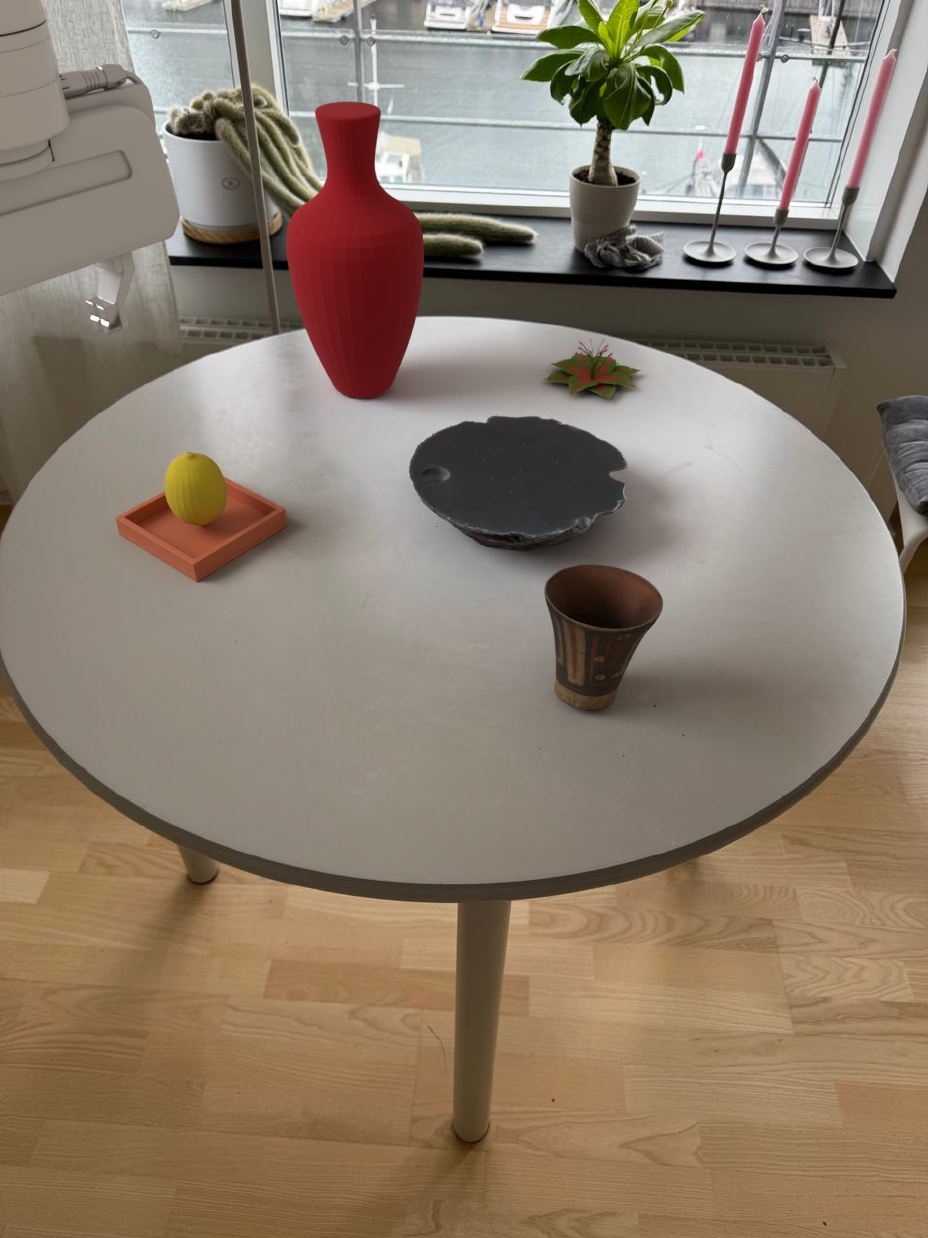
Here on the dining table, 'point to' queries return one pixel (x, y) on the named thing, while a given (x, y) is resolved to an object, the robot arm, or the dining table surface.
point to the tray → (202, 531)
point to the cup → (597, 629)
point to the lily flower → (592, 373)
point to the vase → (355, 259)
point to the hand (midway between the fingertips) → (43, 355)
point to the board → (518, 480)
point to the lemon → (195, 489)
